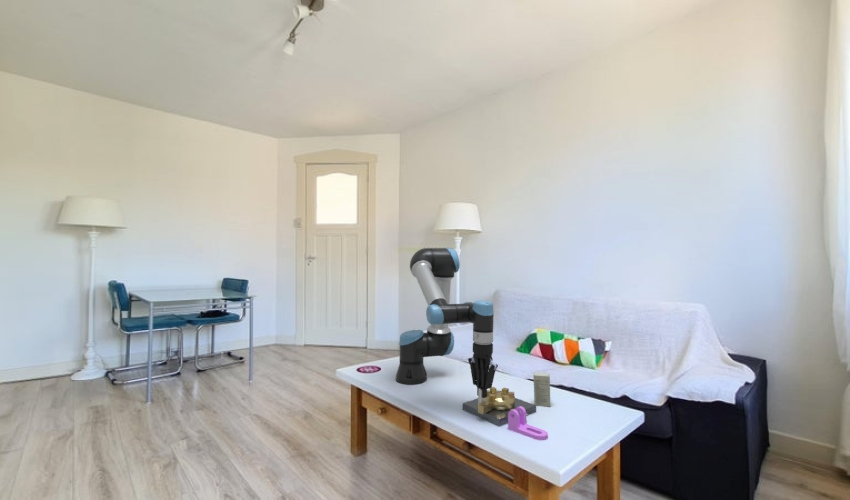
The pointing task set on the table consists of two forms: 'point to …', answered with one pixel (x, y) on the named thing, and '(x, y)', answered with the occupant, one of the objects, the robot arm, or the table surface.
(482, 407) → the brass notched disc handle
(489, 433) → the table surface
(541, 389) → the skincare box
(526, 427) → the bracket
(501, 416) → the base plate
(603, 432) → the table surface
